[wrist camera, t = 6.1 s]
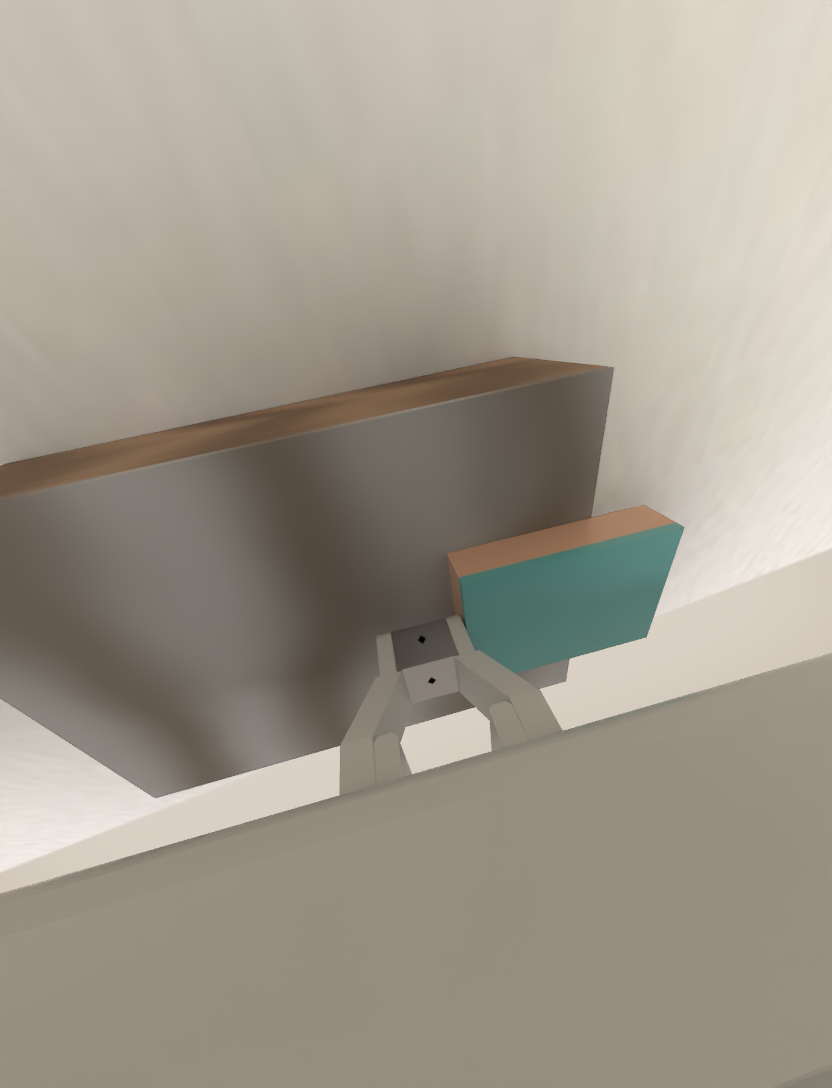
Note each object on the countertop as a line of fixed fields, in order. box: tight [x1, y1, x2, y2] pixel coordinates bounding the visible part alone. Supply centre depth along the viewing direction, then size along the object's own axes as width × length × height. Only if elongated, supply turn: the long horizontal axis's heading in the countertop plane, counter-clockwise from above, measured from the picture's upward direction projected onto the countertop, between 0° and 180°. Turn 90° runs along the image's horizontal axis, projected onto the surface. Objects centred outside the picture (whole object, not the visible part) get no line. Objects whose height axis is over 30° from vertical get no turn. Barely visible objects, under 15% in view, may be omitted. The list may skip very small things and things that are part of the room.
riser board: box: [0, 357, 614, 798], centre depth 14 cm, size 20×14×6 cm
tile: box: [447, 505, 684, 674], centre depth 12 cm, size 7×5×2 cm
